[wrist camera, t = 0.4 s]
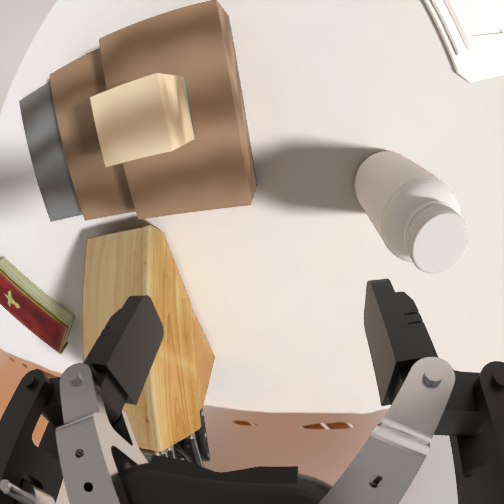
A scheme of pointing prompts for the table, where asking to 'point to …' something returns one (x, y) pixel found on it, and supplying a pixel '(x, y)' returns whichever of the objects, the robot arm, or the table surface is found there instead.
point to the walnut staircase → (156, 166)
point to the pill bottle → (412, 211)
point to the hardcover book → (34, 307)
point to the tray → (472, 35)
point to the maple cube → (142, 118)
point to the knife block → (171, 349)
